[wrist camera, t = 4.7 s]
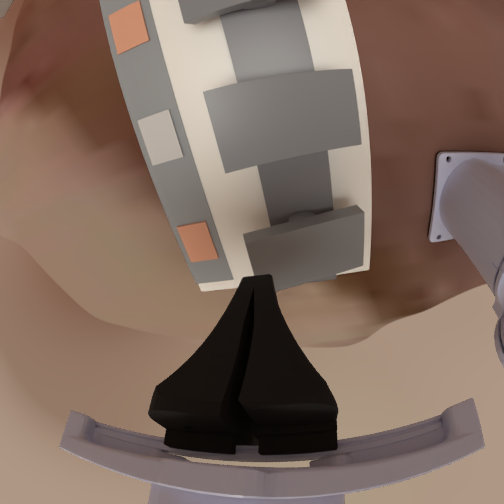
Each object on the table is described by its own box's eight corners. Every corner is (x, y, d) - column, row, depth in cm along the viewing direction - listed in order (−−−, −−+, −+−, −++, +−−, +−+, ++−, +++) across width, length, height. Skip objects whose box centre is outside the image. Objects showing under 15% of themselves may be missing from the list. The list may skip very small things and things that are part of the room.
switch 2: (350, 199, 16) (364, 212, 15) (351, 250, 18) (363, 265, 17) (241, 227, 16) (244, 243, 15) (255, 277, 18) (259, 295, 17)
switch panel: (313, -65, 7) (320, -84, 4) (364, 258, 22) (373, 282, 19) (108, -12, 9) (85, -19, 7) (203, 279, 24) (197, 304, 22)
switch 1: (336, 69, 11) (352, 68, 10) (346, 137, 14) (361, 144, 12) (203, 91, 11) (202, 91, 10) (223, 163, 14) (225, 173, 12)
